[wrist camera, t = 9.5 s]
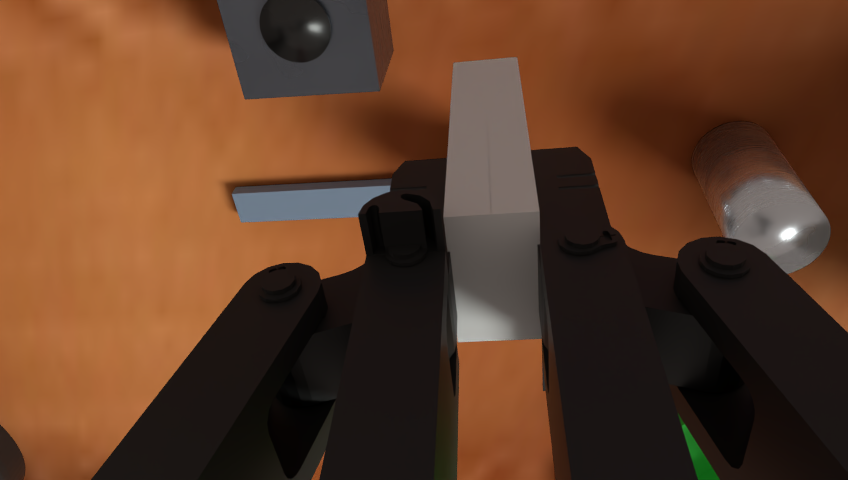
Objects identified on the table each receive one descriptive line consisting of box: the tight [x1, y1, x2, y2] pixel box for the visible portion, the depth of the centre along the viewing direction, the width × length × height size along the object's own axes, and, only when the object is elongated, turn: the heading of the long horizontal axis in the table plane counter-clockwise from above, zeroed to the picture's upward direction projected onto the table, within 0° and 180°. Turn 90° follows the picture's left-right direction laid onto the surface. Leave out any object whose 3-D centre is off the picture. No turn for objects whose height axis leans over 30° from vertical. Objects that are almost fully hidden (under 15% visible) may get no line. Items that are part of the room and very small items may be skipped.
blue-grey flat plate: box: [232, 179, 392, 222], centre depth 26 cm, size 10×20×1 cm, turn 7°
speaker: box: [217, 0, 394, 99], centre depth 24 cm, size 5×5×4 cm
